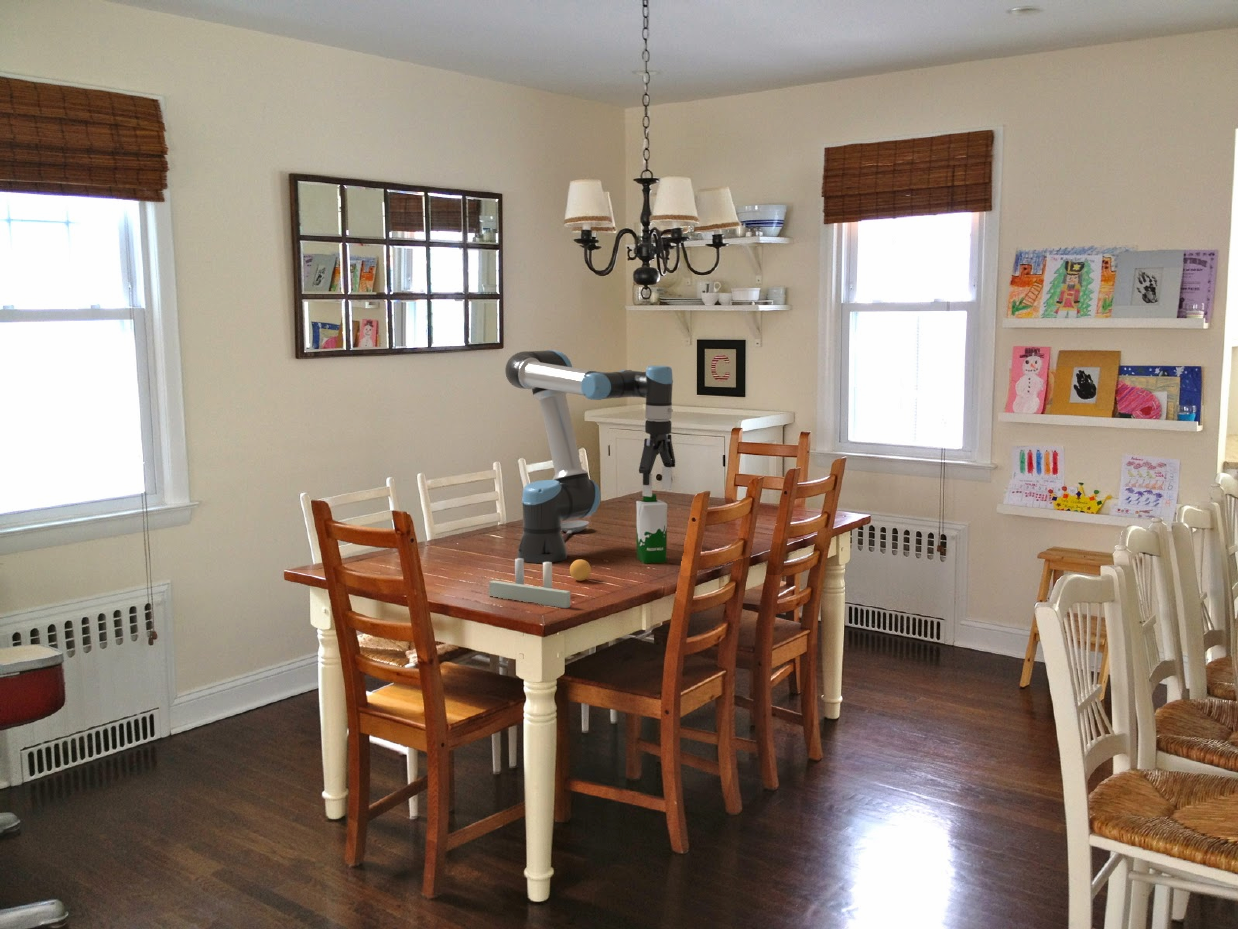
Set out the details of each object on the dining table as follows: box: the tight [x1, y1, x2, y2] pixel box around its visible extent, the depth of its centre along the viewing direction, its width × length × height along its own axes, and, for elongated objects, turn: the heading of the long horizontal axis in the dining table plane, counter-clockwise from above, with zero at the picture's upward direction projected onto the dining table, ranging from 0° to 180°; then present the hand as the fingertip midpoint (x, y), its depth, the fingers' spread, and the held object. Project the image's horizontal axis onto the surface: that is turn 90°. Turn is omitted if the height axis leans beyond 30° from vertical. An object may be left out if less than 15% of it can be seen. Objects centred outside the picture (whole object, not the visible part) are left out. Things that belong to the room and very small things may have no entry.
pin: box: [542, 562, 553, 589], centre depth 294 cm, size 2×2×8 cm
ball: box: [569, 559, 592, 582], centre depth 309 cm, size 6×6×6 cm
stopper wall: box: [488, 580, 571, 609], centre depth 286 cm, size 24×2×4 cm, turn 61°
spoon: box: [561, 519, 590, 543], centre depth 368 cm, size 11×33×3 cm, turn 169°
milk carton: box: [635, 493, 668, 564], centre depth 332 cm, size 9×9×20 cm
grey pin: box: [514, 557, 525, 585], centre depth 298 cm, size 2×2×8 cm
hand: (657, 492), depth 319 cm, fingers open, 13 cm apart
